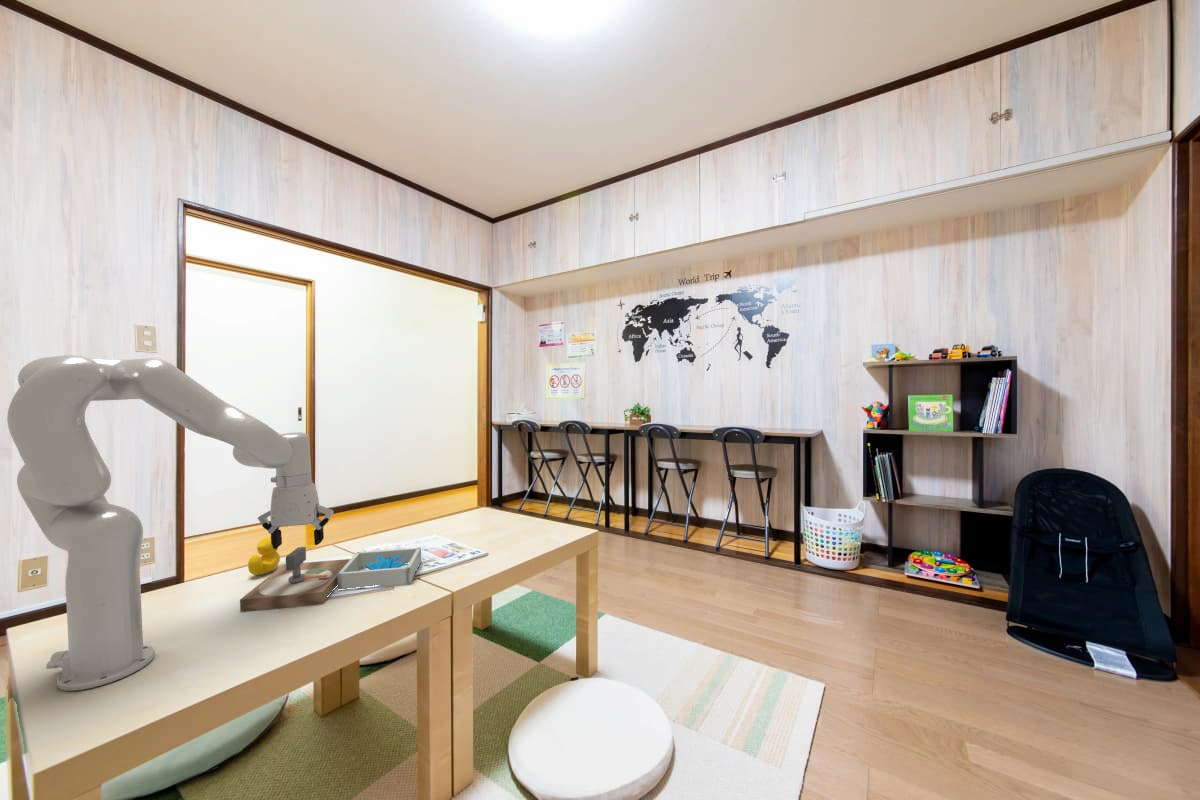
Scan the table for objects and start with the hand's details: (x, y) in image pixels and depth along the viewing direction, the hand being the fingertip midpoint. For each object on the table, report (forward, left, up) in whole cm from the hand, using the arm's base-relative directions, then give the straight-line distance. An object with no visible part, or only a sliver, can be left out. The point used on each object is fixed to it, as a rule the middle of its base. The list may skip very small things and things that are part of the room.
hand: (298, 544), depth 118 cm
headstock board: (0, +2, -13) cm, 13 cm away
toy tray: (+19, +6, -13) cm, 23 cm away
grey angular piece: (+2, -1, -9) cm, 9 cm away
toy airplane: (+19, +6, -13) cm, 24 cm away
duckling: (-15, +16, -13) cm, 26 cm away
